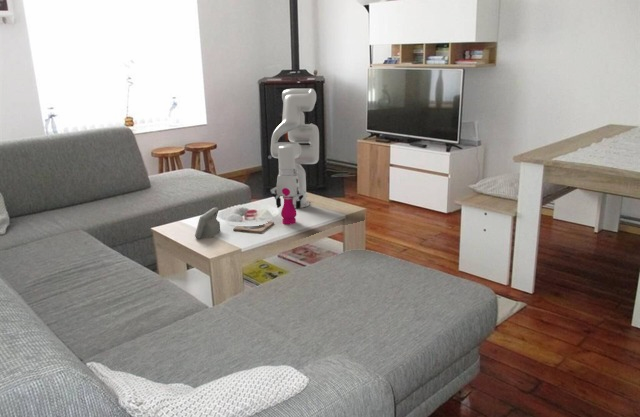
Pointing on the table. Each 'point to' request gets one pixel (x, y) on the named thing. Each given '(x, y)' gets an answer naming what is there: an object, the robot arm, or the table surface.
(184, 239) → the table surface
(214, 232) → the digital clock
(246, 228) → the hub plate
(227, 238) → the table surface
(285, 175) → the robot arm
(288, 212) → the pepper mill
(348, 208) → the table surface
